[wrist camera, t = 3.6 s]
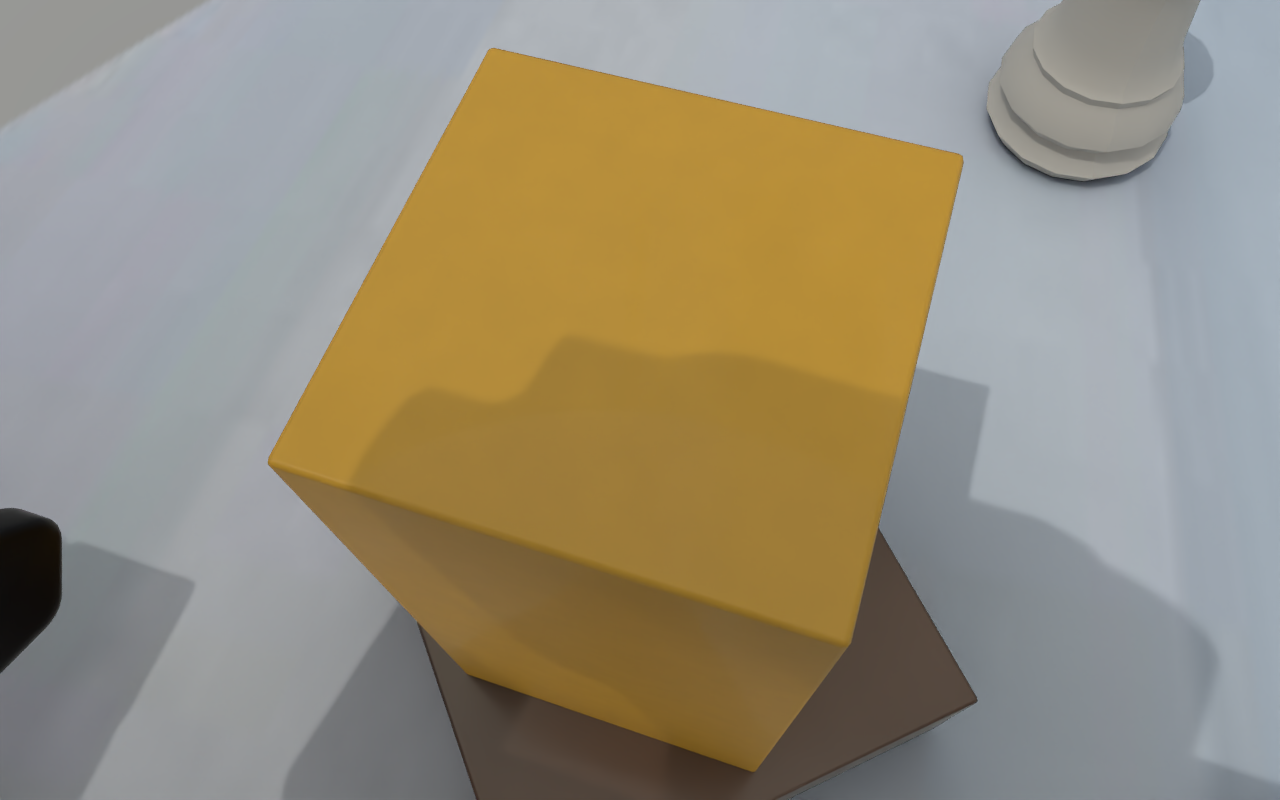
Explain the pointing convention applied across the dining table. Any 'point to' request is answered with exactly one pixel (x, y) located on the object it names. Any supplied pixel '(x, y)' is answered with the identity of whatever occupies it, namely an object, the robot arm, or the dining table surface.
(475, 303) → the ochre block
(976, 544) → the dining table surface
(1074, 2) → the rook chess piece
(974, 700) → the walnut block
